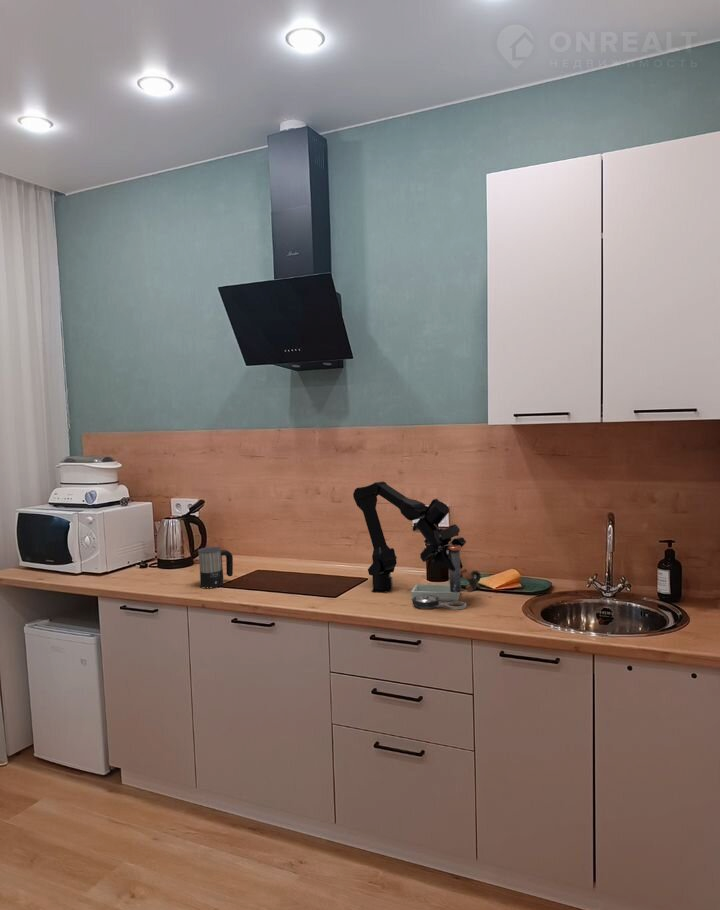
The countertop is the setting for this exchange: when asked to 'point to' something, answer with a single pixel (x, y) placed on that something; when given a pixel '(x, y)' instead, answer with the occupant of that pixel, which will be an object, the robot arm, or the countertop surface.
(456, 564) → the pin
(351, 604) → the countertop surface
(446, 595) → the tray
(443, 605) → the tensioner
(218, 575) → the milk frother
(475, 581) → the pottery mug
